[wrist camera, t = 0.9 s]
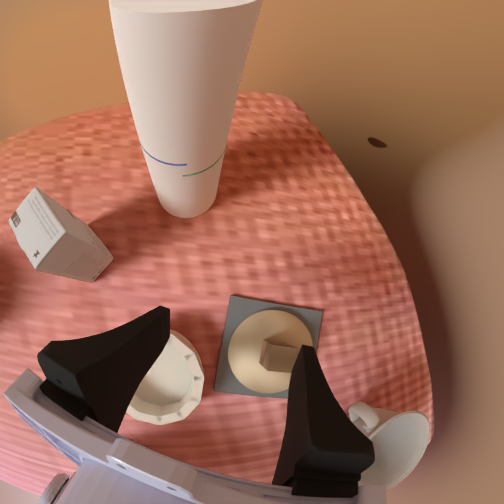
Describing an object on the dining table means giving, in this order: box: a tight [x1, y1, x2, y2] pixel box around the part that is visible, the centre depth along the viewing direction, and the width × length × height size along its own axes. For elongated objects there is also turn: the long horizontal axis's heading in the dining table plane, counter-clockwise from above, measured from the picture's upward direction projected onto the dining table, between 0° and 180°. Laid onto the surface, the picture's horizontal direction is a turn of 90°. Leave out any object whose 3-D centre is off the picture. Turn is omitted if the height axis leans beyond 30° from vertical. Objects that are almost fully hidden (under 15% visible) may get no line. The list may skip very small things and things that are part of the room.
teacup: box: [347, 401, 430, 491], centre depth 24 cm, size 12×15×10 cm
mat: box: [214, 296, 323, 398], centre depth 29 cm, size 11×11×1 cm
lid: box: [228, 310, 313, 393], centre depth 27 cm, size 10×10×5 cm
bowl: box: [126, 329, 204, 425], centre depth 25 cm, size 10×10×4 cm
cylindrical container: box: [109, 0, 263, 218], centre depth 19 cm, size 7×7×25 cm
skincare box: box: [9, 187, 114, 283], centre depth 21 cm, size 6×4×12 cm
